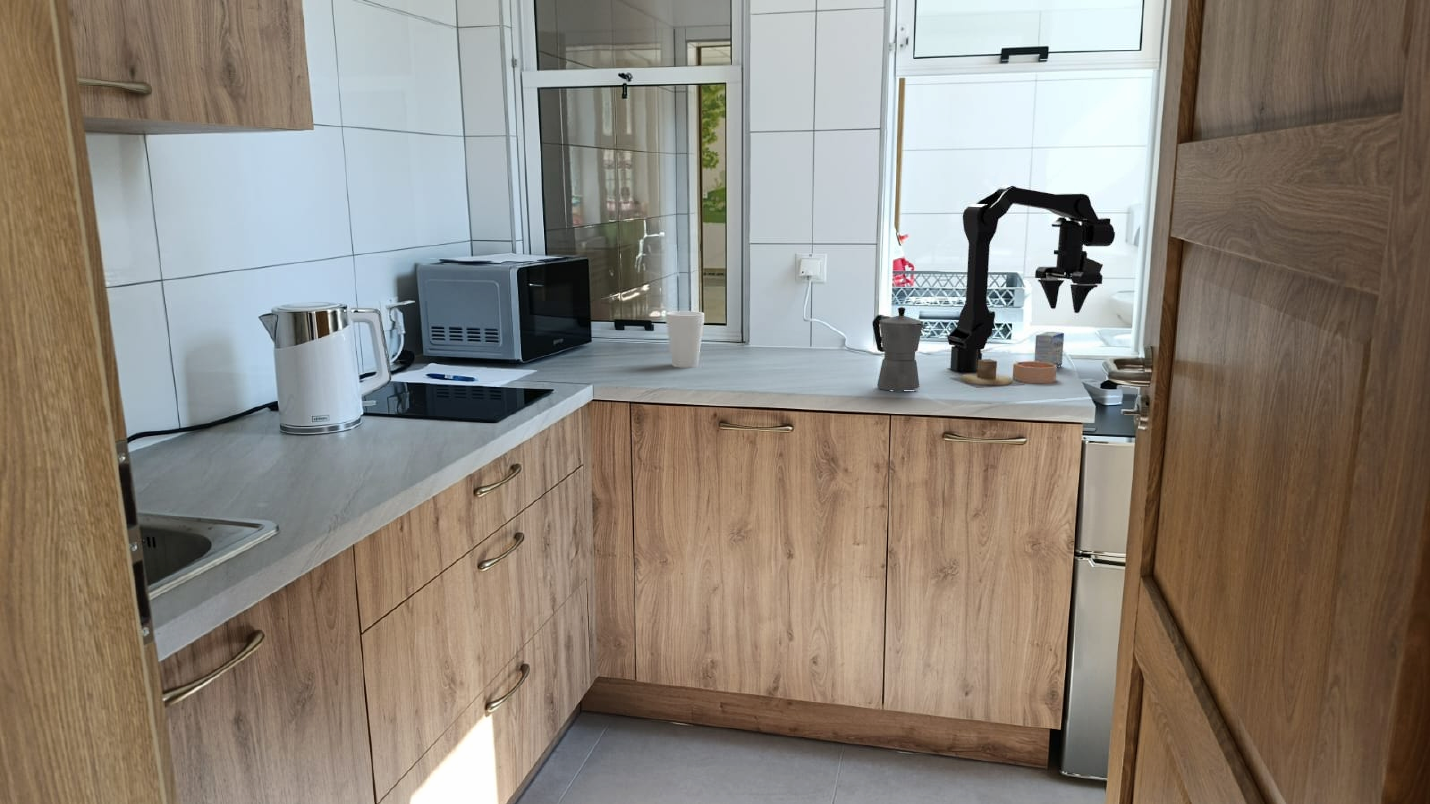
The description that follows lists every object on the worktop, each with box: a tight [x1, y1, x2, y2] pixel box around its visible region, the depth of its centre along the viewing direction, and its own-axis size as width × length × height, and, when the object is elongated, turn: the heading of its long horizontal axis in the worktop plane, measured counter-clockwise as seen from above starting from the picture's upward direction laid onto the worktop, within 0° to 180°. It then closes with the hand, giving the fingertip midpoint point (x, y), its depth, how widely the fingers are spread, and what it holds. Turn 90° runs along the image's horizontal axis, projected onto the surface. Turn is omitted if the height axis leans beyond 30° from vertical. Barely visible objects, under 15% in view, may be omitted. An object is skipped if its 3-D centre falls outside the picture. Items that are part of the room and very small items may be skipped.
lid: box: [960, 358, 1013, 387], centre depth 230 cm, size 11×11×5 cm
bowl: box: [1012, 360, 1058, 384], centre depth 233 cm, size 9×9×4 cm
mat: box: [949, 376, 1025, 389], centre depth 231 cm, size 12×12×1 cm
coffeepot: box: [871, 306, 925, 391], centre depth 224 cm, size 15×9×18 cm, turn 33°
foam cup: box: [665, 310, 705, 369], centre depth 251 cm, size 10×9×13 cm
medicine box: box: [1033, 331, 1065, 368], centre depth 251 cm, size 8×4×9 cm, turn 143°
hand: (1064, 310), depth 249 cm, fingers open, 9 cm apart
